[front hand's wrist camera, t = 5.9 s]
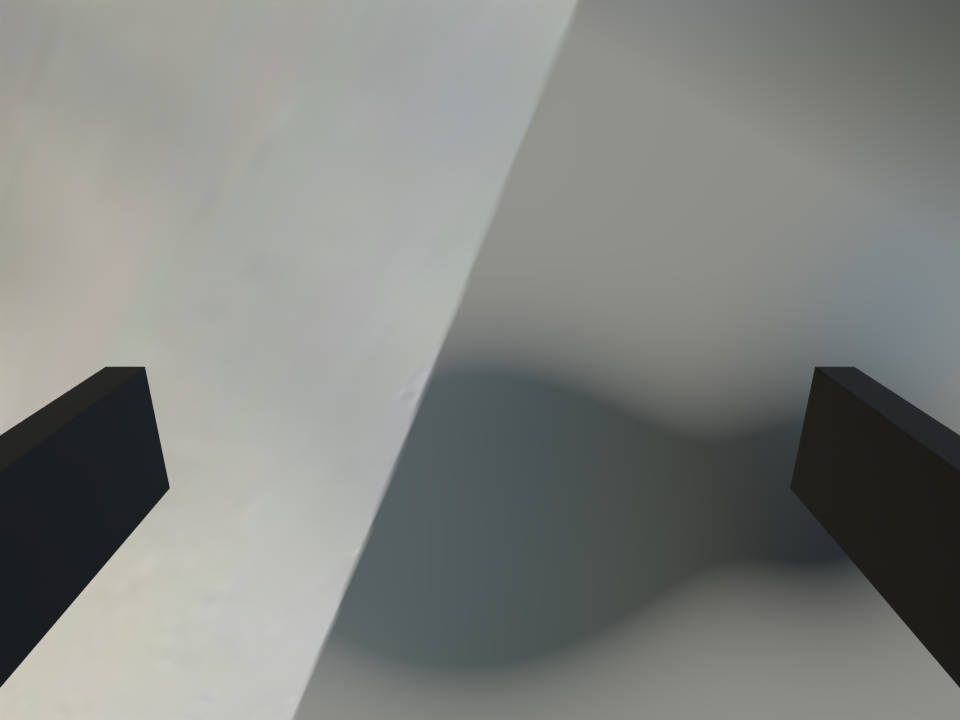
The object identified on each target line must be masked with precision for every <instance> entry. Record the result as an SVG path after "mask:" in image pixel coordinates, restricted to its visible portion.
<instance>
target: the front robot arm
mask: <svg viewBox="0 0 960 720" xmlns="http://www.w3.org/2000/svg"><path fill="white" fill-rule="evenodd" d="M169 488H170V487H169V482H168V477H167V473H166V468H165V463H164V458H163V453H162V448H161V443H160V438H159V434H158V429H157V424H156V419H155V414H154V409H153V404H152V399H151V394H150V390H149V385H148V380H147V375H146V370H145V367H105V368H103V369H102V370H100V371H99V372H97V373H95V374H94V375H92V376H91V377H89V378H88V379H86V380H85V381H83V382H82V383H80V384H79V385H77V386H76V387H74V388H72V389H71V390H69V391H68V392H66V393H65V394H63V395H62V396H60V397H59V398H57V399H56V400H54V401H53V402H51V403H49V404H48V405H46V406H45V407H43V408H42V409H40V410H39V411H37V412H36V413H34V414H33V415H31V416H29V417H28V418H26V419H25V420H23V421H22V422H20V423H19V424H17V425H16V426H14V427H13V428H11V429H10V430H8V431H6V432H5V433H3V434H2V435H0V687H1V686H2V685H3V684H4V683H5V681H6V680H7V679H8V678H9V677H10V676H11V674H12V673H13V672H14V671H15V670H16V668H17V667H18V666H19V665H20V664H21V663H22V661H23V660H24V659H25V658H26V657H27V656H28V654H29V653H30V652H31V651H32V650H33V648H34V647H35V646H36V645H37V644H38V643H39V641H40V640H41V639H42V638H43V637H44V636H45V634H46V633H47V632H48V631H49V630H50V628H51V627H52V626H53V625H54V624H55V623H56V621H57V620H58V619H59V618H60V617H61V616H62V614H63V613H64V612H65V611H66V610H67V608H68V607H69V606H70V605H71V604H72V603H73V601H74V600H75V599H76V598H77V597H78V596H79V594H80V593H81V592H82V591H83V590H84V588H85V587H86V586H87V585H88V584H89V583H90V581H91V580H92V579H93V578H94V577H95V576H96V574H97V573H98V572H99V571H100V570H101V568H102V567H103V566H104V565H105V564H106V563H107V561H108V560H109V559H110V558H111V557H112V556H113V554H114V553H115V552H116V551H117V550H118V548H119V547H120V546H121V545H122V544H123V543H124V541H125V540H126V539H127V538H128V537H129V536H130V534H131V533H132V532H133V531H134V530H135V528H136V527H137V526H138V525H139V524H140V523H141V521H142V520H143V519H144V518H145V517H146V516H147V514H148V513H149V512H150V511H151V510H152V508H153V507H154V506H155V505H156V504H157V503H158V501H159V500H160V499H161V498H162V497H163V495H164V494H165V493H166V492H167V491H168V490H169ZM790 488H791V490H792V491H793V492H794V493H795V494H796V495H797V497H798V498H799V499H800V500H801V501H802V503H803V504H804V505H805V506H806V507H807V508H808V510H809V511H810V512H811V513H812V514H813V515H814V517H815V518H816V519H817V520H818V521H819V523H820V524H821V525H822V526H823V527H824V528H825V530H826V531H827V532H828V533H829V534H830V535H831V537H832V538H833V539H834V540H835V541H836V542H837V544H838V545H839V546H840V547H841V548H842V550H843V551H844V552H845V553H846V554H847V556H848V557H849V558H850V559H851V560H852V561H853V563H854V564H855V565H856V566H857V567H858V568H859V570H860V571H861V572H862V573H863V574H864V575H865V577H866V578H867V579H868V580H869V581H870V583H871V584H872V585H873V586H874V587H875V588H876V590H877V591H878V592H879V593H880V594H881V595H882V597H883V598H884V599H885V600H886V601H887V603H888V604H889V605H890V606H891V607H892V608H893V610H894V611H895V612H896V613H897V614H898V616H899V617H900V618H901V619H902V620H903V621H904V623H905V624H906V625H907V626H908V627H909V628H910V630H911V631H912V632H913V633H914V634H915V635H916V637H917V638H918V639H919V640H920V641H921V643H922V644H923V645H924V646H925V647H926V648H927V650H928V651H929V652H930V653H931V654H932V655H933V657H934V658H935V659H936V660H937V661H938V663H939V664H940V665H941V666H942V667H943V668H944V670H945V671H946V672H947V673H948V674H949V676H950V677H951V678H952V679H953V680H954V681H955V683H956V684H957V685H958V686H959V687H960V435H958V434H957V433H955V432H954V431H952V430H950V429H949V428H947V427H946V426H944V425H943V424H941V423H940V422H938V421H937V420H935V419H934V418H932V417H931V416H929V415H927V414H926V413H924V412H923V411H921V410H920V409H918V408H917V407H915V406H914V405H912V404H911V403H909V402H907V401H906V400H904V399H903V398H901V397H900V396H898V395H897V394H895V393H894V392H892V391H891V390H889V389H887V388H886V387H884V386H883V385H881V384H880V383H878V382H877V381H875V380H874V379H872V378H871V377H869V376H868V375H866V374H864V373H863V372H861V371H860V370H858V369H857V368H855V367H815V370H814V375H813V380H812V385H811V390H810V394H809V399H808V404H807V409H806V414H805V419H804V424H803V429H802V434H801V438H800V443H799V448H798V453H797V458H796V463H795V468H794V473H793V477H792V482H791V487H790Z"/></svg>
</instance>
